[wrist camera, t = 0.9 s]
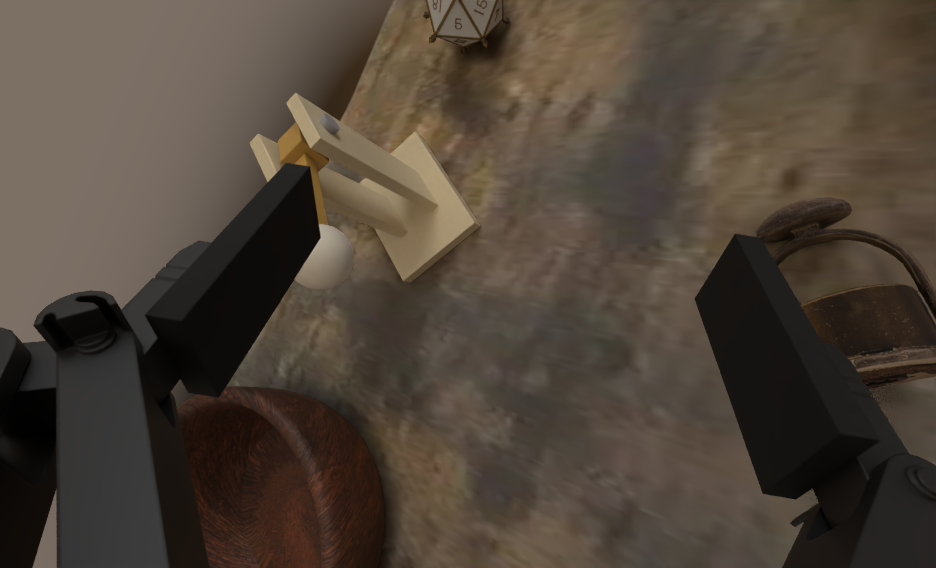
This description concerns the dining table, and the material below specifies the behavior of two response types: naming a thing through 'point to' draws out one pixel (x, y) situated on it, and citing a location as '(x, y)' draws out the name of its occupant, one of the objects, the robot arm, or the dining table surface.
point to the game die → (464, 20)
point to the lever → (333, 248)
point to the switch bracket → (382, 189)
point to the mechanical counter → (863, 299)
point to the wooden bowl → (281, 482)
